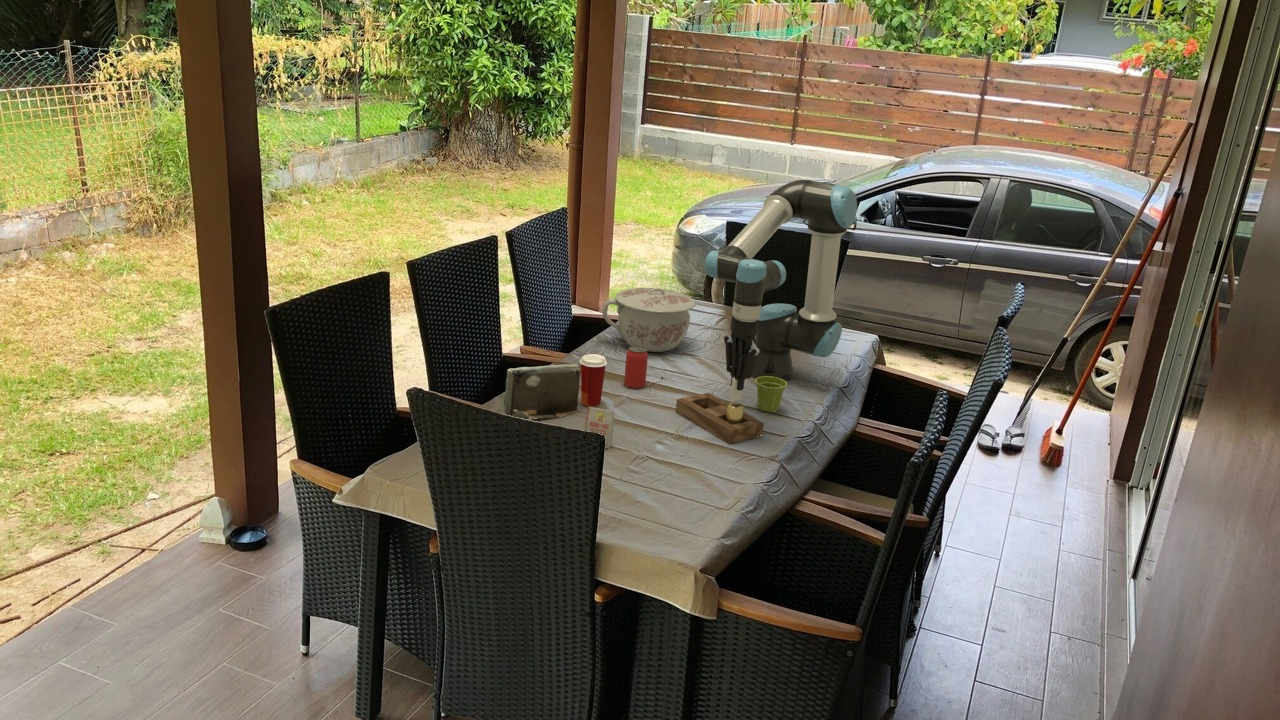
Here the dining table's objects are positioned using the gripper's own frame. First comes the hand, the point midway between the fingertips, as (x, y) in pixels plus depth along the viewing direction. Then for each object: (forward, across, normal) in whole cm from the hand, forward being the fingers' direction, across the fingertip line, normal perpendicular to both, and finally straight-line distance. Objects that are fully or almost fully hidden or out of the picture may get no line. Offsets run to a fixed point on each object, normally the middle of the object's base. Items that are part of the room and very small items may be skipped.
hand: (735, 399), depth 267 cm
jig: (+10, -6, 0) cm, 12 cm away
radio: (+10, -34, -41) cm, 55 cm away
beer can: (+10, -40, -5) cm, 42 cm away
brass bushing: (+10, 0, +1) cm, 10 cm away
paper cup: (+10, -34, -25) cm, 43 cm away
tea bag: (+10, -10, -38) cm, 40 cm away
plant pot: (+10, -8, +21) cm, 25 cm away
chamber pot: (+10, -68, +22) cm, 72 cm away
